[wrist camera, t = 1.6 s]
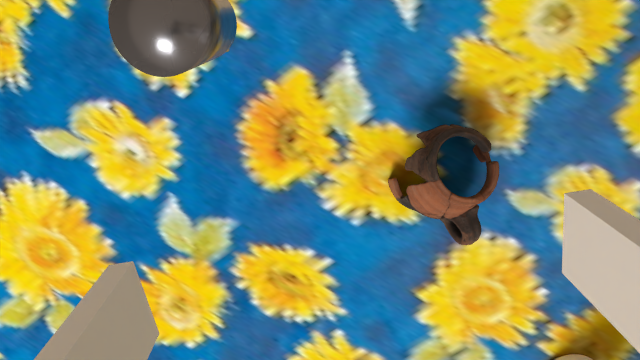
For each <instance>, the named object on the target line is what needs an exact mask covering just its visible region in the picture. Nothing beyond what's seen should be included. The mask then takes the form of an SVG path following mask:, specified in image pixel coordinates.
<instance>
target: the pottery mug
mask: <svg viewBox="0 0 640 360" xmlns="http://www.w3.org/2000/svg"><path fill="white" fill-rule="evenodd" d="M454 136H462V137H465V138H468V139H470V140H472V141H473V142H474V143H475V144H476V145H475V147H474V148H473V151H474V153H475V155H476V156H477V158H478V159H479V160H480V161H481V162H485V161H486V166H487V177H486V181H485V184H484V186H483V187H482V189H481V190H480V191H479V192H478V193H477V194H476V195H474V196H471V197H461V196H458V195H456V194H454V193H452V192H451V191H450V190H448V189H447V188H446V186H445V185H444V184H443V182H442V181H441V179H440V178H439V174H438V171H437V155H438V152H439V149H440V147H441V145H442V144H443V143H444V142H445V141H446V140H447V139H449V138H451V137H454ZM417 137H418V138H420V139H421V140H422V142H423V143H424V144H425V146H426V148H422V149H419V150H417V151H416V152H415V153H414V154H413V155H412V156H411V157H409V158H407V160H406V163H405V169H406V170H409V171H413V172H415V173H416V174H418V175H420V176H421V177H422V178H424V179H425V180H426V182H424V183H421V184H416V185H409V187H408V188H407V190H406V191H407V194H408V195H407V196H403V194H402V192H401V189H400V187H399V184H398V180H397V178H392V179H389V180H388V183H389V187H390V189H391V192H392V193H393V195H394V196H395V198H396V199H397V200H398V201H399V202H400V203H401V204H402V205H404V206H405V207H407V208H409V209H412V210H414V211H417V212H419V213H421V214H422V215H424V216H427V217H430V218H434V219H440V220H441V221H442V222H443V223H444V224H445V226H446V228H447V230H448V232H449V233H450V235H451V236H452V237H453V239H454V240H455V241H456V242H457V243H459V244H462V245H471V244H473V243H474V242H475V241H477V240H478V239H479V237H480V234H481V225H480V222H479V219H478V215H477V212H478V209H479V206H478V205H477V204H479V203H481V202H483V201H485V200H486V199H487V198H488V197H489V196H490V195H491V193H492V192H493V190H494V189H495V187H496V185H497V181H498V177H499V164H498V162H497V161H493V162H491V159H490V156H489V153H488V152H489V151H490V150H491V143H490V141H489V140H488V139H487V138H486V137H485V136H483V135H482V134H481V133H480V132H478V131H476V130H474V129H471V128H467V127H461V126H458V125H453V124H451V125H450V126H448V125H441V126H439V127H436V128H434V129H432V130H429V131H426V132H422V133H420V134H417Z"/></svg>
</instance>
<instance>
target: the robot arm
mask: <svg viewBox="0 0 640 360" xmlns="http://www.w3.org/2000/svg"><path fill="white" fill-rule="evenodd" d="M562 273H563V274H564V275H565V276H566V277H567V278H568V279H569V280H570V282H571V283H572V284H573V285H574V286H575V287H576V288H577V289H578V290H579V291H580V292H581V293H582V294H583V295H584V296H585V297H586V298H587V299H588V300H589V301H590V302H591V303H592V304H593V305H594V306H595V307H596V308H597V309H598V311H599V312H600V313H601V314H602V315H603V316H604V317H605V318H606V319H607V320H608V321H609V322H610V323H611V324H612V325H613V326H614V327H615V328H616V329H617V330H618V331H619V332H620V333H621V334H622V335H623V336H624V337H625V339H626V340H627V341H628V342H629V343H630V344H631V345H632V346H633V347H634V348H635V349H636V350H637V351H638V352H639V353H640V220H639V219H637V218H635V217H634V216H632V215H631V214H629V213H627V212H626V211H624V210H623V209H621V208H620V207H618V206H616V205H615V204H613V203H612V202H610V201H608V200H607V199H605V198H604V197H602V196H601V195H599V194H597V193H596V192H594V191H593V190H591V189H589V190H583V191H577V192H570V193H565V195H564V226H563V258H562ZM158 335H159V332H158V329H157V326H156V323H155V320H154V318H153V315H152V312H151V309H150V307H149V304H148V301H147V298H146V296H145V293H144V290H143V287H142V285H141V282H140V279H139V276H138V273H137V271H136V268H135V265H134V262H127V263H120V264H114V265H109V266H108V267H107V268H106V270H105V271H104V272H103V273H102V275H101V276H100V277H99V278H98V280H97V281H96V282H95V284H94V285H93V286H92V287H91V289H90V290H89V291H88V292H87V294H86V295H85V296H84V297H83V299H82V300H81V301H80V302H79V304H78V305H77V306H76V307H75V309H74V310H73V311H72V312H71V314H70V315H69V316H68V317H67V319H66V320H65V321H64V323H63V324H62V325H61V326H60V328H59V329H58V330H57V331H56V333H55V334H54V335H53V336H52V338H51V339H50V340H49V341H48V343H47V344H46V345H45V346H44V348H43V349H42V350H41V351H40V353H39V354H38V355H37V357H36V358H35V359H34V360H147V359H148V356H149V354H150V352H151V350H152V348H153V346H154V344H155V341H156V339H157V337H158Z"/></svg>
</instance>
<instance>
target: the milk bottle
mask: <svg viewBox="0 0 640 360" xmlns="http://www.w3.org/2000/svg"><path fill="white" fill-rule="evenodd" d="M554 360H593V359H591V358H589V357H587V356H585V355H580V354H568V355H564V356H561V357H558V358H556V359H554Z"/></svg>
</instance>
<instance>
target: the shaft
mask: <svg viewBox="0 0 640 360" xmlns="http://www.w3.org/2000/svg"><path fill="white" fill-rule="evenodd" d="M236 28H237V22H236V16H235V13H234V10H233V8H232V6H231V4H230V2H229V1H228V0H112V1H111V4H110V8H109V29H110V33H111V36H112V39H113V42H114V44H115V46H116V48H117V49H118V51H119V52H120V54H121V55H122V56H123V57H124V59H126V60H127V61H128V62H129V63H130V64H131V65H132V66H134V67H135V68H137V69H138V70H140V71H142V72H144V73H146V74H150V75H153V76H158V77H169V76H175V75H178V74H181V73H183V72H186V71H188V70H190V69H192V68H195V67H197V66H199V65H202V64H204V63H206V62H208V61H211V60H213V59H215V58H217V57H219V56H221V55H222V54H224V53H225V52H228V51H229V48H230V46H231V45H232V43H233V41H234V38H235V35H236Z"/></svg>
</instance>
